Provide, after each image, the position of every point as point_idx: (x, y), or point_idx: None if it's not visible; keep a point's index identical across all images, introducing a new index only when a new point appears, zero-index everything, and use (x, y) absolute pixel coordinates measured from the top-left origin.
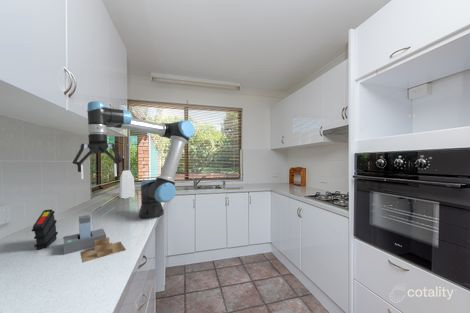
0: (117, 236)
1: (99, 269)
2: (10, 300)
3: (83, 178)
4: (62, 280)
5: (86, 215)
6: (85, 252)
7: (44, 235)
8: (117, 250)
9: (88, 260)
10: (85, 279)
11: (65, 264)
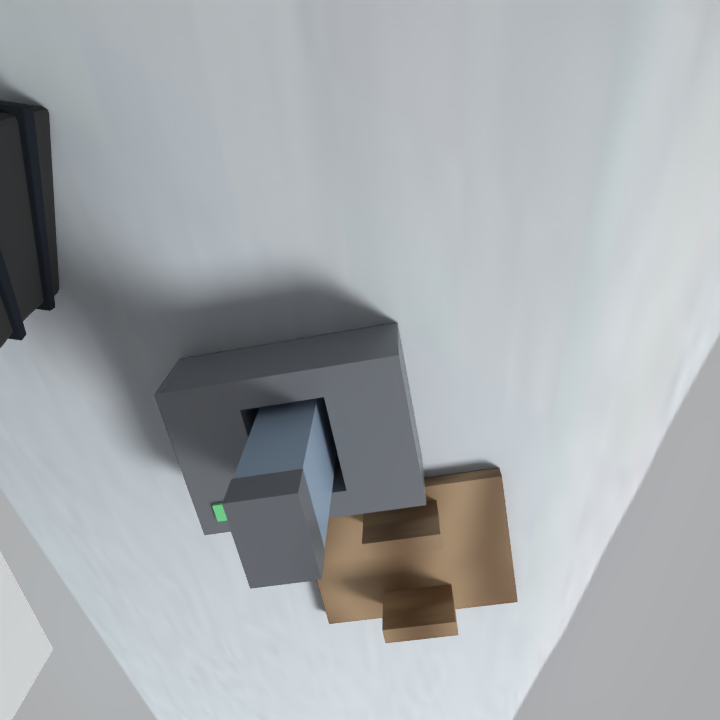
0: (493, 315)
1: (400, 676)
2: (167, 716)
3: (45, 659)
4: (283, 684)
5: (279, 505)
6: None
7: (10, 333)
8: (476, 585)
9: (351, 619)
10: (359, 714)
11: None
